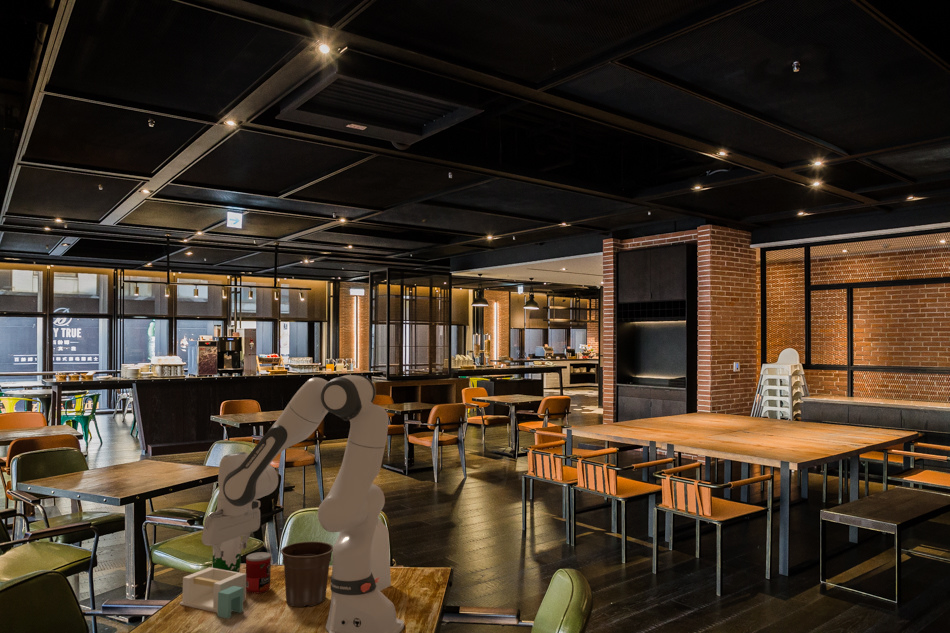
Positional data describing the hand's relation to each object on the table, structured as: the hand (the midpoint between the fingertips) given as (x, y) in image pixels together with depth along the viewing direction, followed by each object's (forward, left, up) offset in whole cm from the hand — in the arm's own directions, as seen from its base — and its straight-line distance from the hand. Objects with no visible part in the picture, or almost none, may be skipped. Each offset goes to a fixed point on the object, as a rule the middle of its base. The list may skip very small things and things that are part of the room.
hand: (231, 552), depth 192 cm
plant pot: (-14, -18, -18) cm, 29 cm away
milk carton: (+22, -20, -18) cm, 35 cm away
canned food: (+7, -19, -18) cm, 27 cm away
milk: (-25, -35, -18) cm, 47 cm away
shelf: (+12, -5, -18) cm, 22 cm away
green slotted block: (0, 0, -18) cm, 18 cm away
